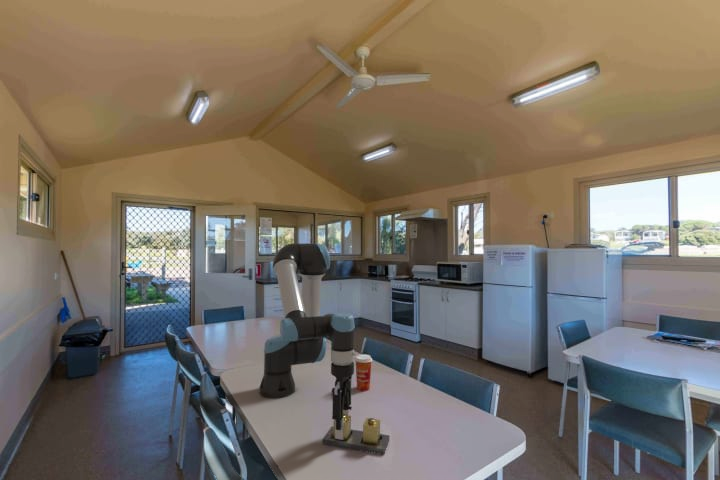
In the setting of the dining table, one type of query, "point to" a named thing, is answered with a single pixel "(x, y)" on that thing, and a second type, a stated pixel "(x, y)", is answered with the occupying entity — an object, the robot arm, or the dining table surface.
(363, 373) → the paper cup
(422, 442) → the dining table surface
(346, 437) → the yellow square bottle
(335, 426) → the robot arm
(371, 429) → the holder with square slots
